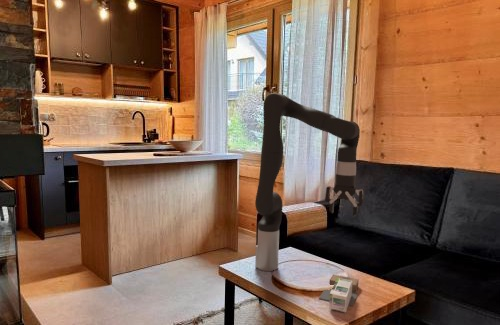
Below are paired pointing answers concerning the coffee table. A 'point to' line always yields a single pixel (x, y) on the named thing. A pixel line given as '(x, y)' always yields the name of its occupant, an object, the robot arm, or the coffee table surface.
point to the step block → (354, 281)
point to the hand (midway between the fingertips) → (343, 214)
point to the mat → (326, 296)
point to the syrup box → (340, 295)
